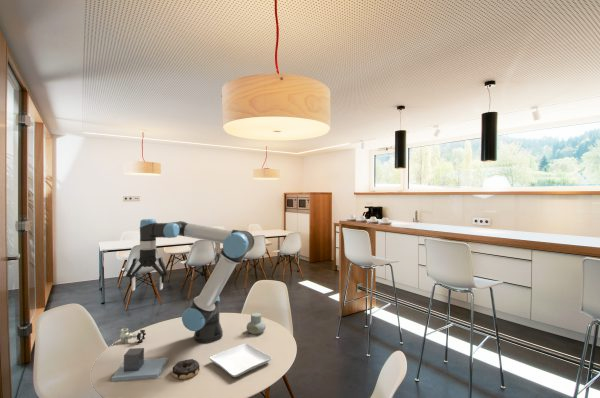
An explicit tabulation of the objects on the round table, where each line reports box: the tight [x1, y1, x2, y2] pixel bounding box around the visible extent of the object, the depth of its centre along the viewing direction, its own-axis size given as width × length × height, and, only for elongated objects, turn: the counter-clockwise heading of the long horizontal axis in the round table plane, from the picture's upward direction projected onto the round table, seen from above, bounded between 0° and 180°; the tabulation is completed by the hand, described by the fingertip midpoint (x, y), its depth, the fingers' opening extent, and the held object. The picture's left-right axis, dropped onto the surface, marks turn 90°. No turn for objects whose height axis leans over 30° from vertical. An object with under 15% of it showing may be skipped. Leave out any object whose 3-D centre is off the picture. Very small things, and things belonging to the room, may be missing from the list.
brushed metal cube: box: [123, 347, 145, 372], centre depth 134 cm, size 6×6×7 cm
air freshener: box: [245, 312, 267, 335], centre depth 175 cm, size 11×8×10 cm
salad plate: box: [208, 343, 272, 378], centre depth 140 cm, size 21×21×3 cm
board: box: [111, 357, 168, 382], centre depth 134 cm, size 18×14×6 cm
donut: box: [171, 358, 200, 380], centre depth 133 cm, size 11×12×4 cm
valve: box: [119, 327, 147, 344], centre depth 162 cm, size 7×7×12 cm
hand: (147, 289), depth 159 cm, fingers open, 13 cm apart
